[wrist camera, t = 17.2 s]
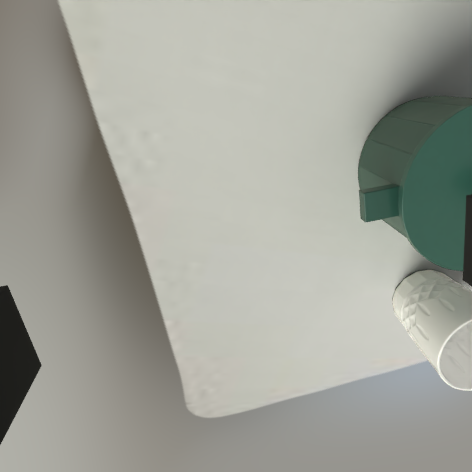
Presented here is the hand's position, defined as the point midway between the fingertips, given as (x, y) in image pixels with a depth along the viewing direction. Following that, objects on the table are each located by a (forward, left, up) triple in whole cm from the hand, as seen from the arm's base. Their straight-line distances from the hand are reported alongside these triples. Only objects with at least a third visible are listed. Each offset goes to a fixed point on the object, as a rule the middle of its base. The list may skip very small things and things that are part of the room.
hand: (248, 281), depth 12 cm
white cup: (-1, +28, -27) cm, 39 cm away
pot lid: (-11, +17, -18) cm, 27 cm away
